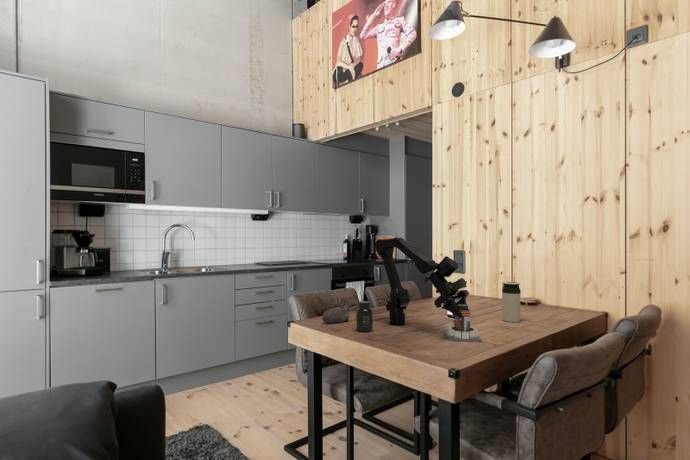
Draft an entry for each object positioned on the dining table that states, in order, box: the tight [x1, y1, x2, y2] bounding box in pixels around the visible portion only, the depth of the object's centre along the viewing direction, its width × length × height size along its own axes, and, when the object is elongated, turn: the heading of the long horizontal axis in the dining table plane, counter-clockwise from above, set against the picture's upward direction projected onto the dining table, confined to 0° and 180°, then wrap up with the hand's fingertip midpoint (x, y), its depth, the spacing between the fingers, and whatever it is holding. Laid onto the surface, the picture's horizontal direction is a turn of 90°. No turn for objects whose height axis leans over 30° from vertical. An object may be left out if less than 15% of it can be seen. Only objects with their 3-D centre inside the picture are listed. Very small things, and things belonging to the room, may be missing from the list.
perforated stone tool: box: [321, 305, 351, 324], centre depth 187 cm, size 15×5×7 cm, turn 121°
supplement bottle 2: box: [454, 303, 471, 331], centre depth 163 cm, size 6×6×11 cm
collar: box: [444, 325, 483, 343], centre depth 162 cm, size 12×12×3 cm
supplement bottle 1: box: [355, 300, 374, 333], centre depth 173 cm, size 7×7×12 cm
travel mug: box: [501, 280, 522, 323], centre depth 193 cm, size 8×8×18 cm
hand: (465, 315), depth 162 cm, fingers closed on supplement bottle 2, 6 cm apart
